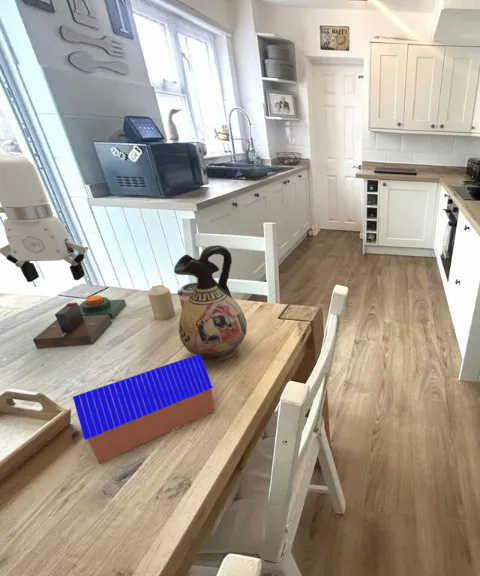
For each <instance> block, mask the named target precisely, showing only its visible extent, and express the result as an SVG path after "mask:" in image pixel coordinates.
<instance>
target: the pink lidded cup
mask: <svg viewBox="0 0 480 576" xmlns="http://www.w3.org/2000/svg"><path fill="white" fill-rule="evenodd" d="M197 284H198V281H197V282H190V283H186V284H184V285H182V286H181V287H180V289H178V290H177V293H176V294H177V296H178V298H179V302H180V306H181V312H182V311H183V308H184V306H185V304H186V303H187V301H188V299H189V297H190V295H191V294H192V292H193V291H194V290H195V288H196V286H197Z"/></svg>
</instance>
